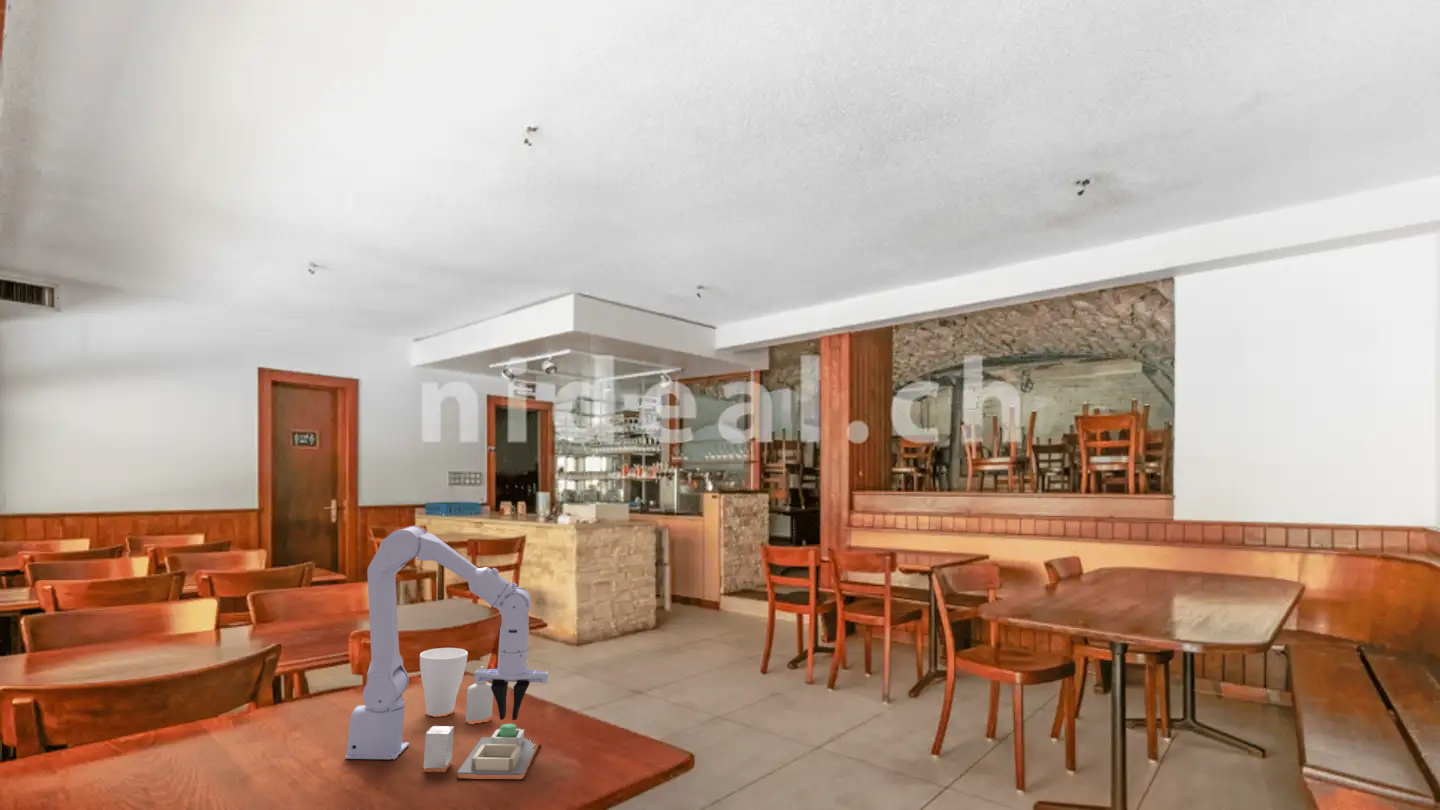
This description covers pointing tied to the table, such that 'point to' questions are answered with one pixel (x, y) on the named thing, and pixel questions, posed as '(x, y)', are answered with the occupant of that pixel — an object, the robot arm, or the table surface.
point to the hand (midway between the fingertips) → (508, 718)
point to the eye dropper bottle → (479, 701)
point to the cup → (442, 678)
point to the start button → (508, 730)
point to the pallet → (499, 755)
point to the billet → (438, 746)
